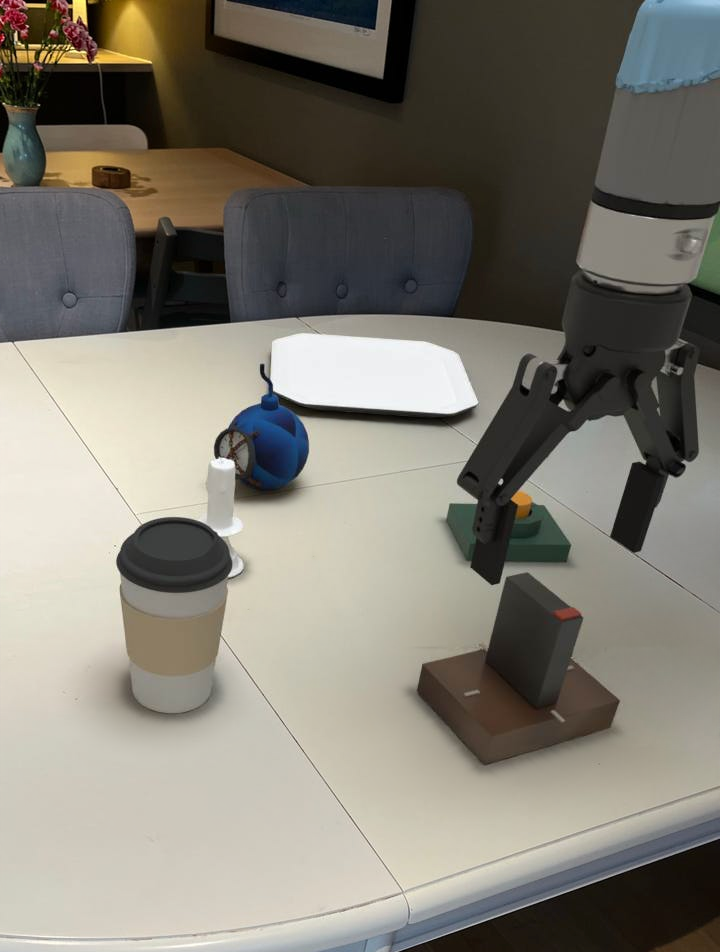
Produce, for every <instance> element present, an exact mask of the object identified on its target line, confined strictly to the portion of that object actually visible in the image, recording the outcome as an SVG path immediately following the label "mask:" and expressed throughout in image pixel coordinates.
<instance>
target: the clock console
mask: <svg viewBox="0 0 720 952" xmlns="http://www.w3.org/2000/svg"><path fill="white" fill-rule="evenodd" d="M478 646H479V647H480V648H482V649H479V650H474V651H470V652H465V653H462V654H458V655H453V656H449V657H445V658H441V659H437V660H433V661H428V662H424V663H422V664H421V668H420V673H419V678H418V682H417V688H416V692H417V693H418V695H419V696H420V697H421V698H422V699H423V700H424V701H425V703H427V704H428V705H429V707H430V708H431V709H432V710H433V711H434V712H435V713H436V714H437V715H438V716H439V718H440V719H441V720H442V721H443V722H444V723H445V724H446V725H447V726H448V727H449V728H450V729H451V730H452V731H453V733H454V734H455V735H456V736H457V737H458V739H460V740H461V742H462V743H464V745H465V746H466V747H467V748H468V749H469V750H470V751H471V752H472V753H473V754H474V756H476V758H477V759H478V760H479V761H480V762H481V763H482V764H483V765H488V764H492V763H495V762H498V761H502V760H506V759H509V758H512V757H515V756H519V755H522V754H525V753H529V752H533V751H535V750H539V749H543V748H546V747H549V746H550V747H551V746H553V745H556V744H559V743H560V744H561V743H564V742H567V741H570V740H573V739H577V738H580V737H583V736H587V735H590V734H593V733H594V734H595V733H597V732H601V731H604V730H608V729H610V728H612V725H613V722H614V719H615V716H616V714H617V710H618V708H619V705H620V703H621V699H620V698H618V697H617V696H616V695H615V694H613V692H611V691H610V690H609V689H608V688H607V687H605V685H603V684H602V683H601V682H600V681H599V680H598V679H596V678H595V677H594V676H593V675H592V674H590V673H589V672H588V671H587V670H586V669H584V667H582V666H581V665H580V664H579V663H577V661H575V659H573V658H572V657H571V659H570V663H569V666H568V669H567V672H566V675H565V679H564V682H563V685H562V688H561V691H560V694H559V698H558V701H557V703H555V704H551V705H547V706H544V707H540V708H534V707H533V706H532V705H531V704H530V703H529V702H528V701H527V700H526V699H525V698H524V697H523V696H522V695H521V694H520V693H519V692H518V691H517V690H516V689H515V688H514V687H513V686H511V685H510V684H509V683H508V682H507V681H506V680H505V679H504V678H503V677H502V676H501V675H500V674H499V673H498V672H497V671H496V670H495V669H494V668H493V667H492V666H491V665H490V664H489V663H487V662H486V661H485V658H486V655H487V651H488V647H487V645H486V644H485V643H483V642H481V643H479V644H478Z"/></svg>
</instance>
